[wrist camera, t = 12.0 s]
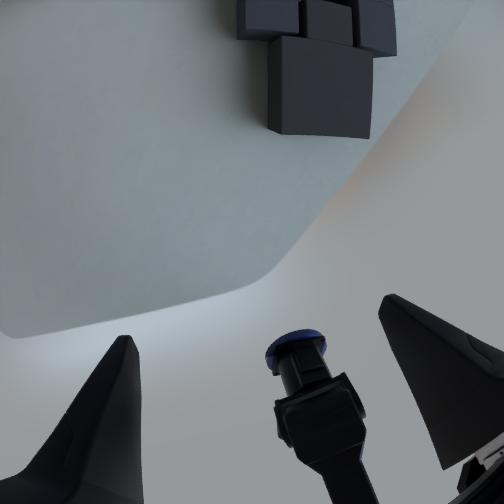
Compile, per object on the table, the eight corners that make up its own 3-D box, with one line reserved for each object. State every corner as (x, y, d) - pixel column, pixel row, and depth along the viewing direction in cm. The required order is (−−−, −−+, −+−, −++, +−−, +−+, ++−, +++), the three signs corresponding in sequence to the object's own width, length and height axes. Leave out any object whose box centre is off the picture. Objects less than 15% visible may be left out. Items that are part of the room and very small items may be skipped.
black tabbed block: (348, 21, 13) (371, 13, 10) (346, 132, 18) (369, 139, 15) (266, 7, 12) (280, -8, 9) (267, 129, 17) (281, 134, 14)
